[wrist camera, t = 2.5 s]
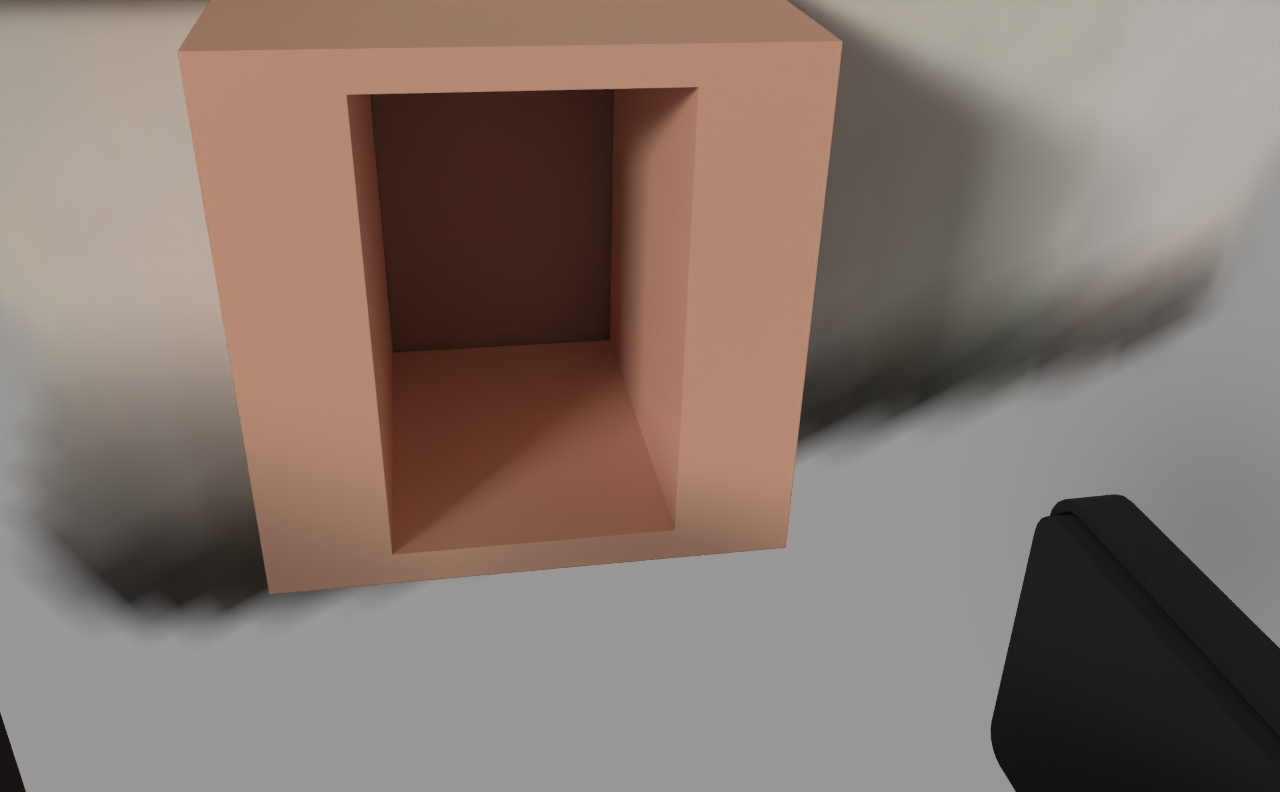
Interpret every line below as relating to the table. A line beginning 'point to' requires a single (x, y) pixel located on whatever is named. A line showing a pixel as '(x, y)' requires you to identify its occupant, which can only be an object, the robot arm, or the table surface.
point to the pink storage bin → (522, 374)
